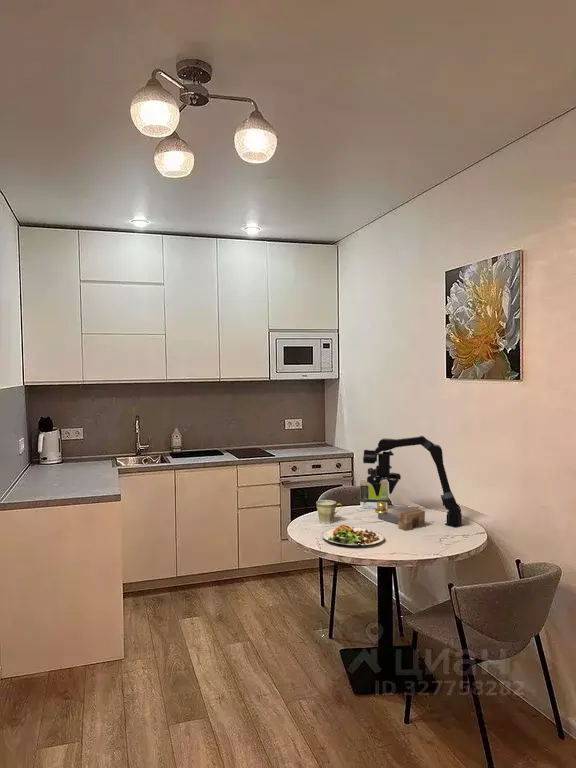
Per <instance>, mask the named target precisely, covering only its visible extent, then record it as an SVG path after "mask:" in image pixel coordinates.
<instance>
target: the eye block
mask: <svg viewBox="0 0 576 768" xmlns="http://www.w3.org/2000/svg"><path fill="white" fill-rule="evenodd" d="M398 516H399V523H398V524H397V525H398V529H399V530H402V531H412V530H413V527H414V528H419V529H420V528H425V527H424V526H426V524H425V523H426V522H425V521H426V518H425V517H426V511H425V510H421V509H418V508H416V509H411V510H406V511H400V512H398Z"/></svg>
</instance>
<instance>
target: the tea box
mask: <svg viewBox="0 0 576 768" xmlns="http://www.w3.org/2000/svg"><path fill="white" fill-rule="evenodd" d="M380 483H381V487H380V492H379V496H376V493H375V490H374V488H373V486H372V484H370V483H369V482H367V478H361V479H360V481H359V484H360V485H359V492H360V493H359V503H360V507H359V508H360V509H377V502H380V501H382V502H386V510H388V509H389V506H388V504H389V500H388V498H389V496H388V494H389V493H388V492H389V483H388V481H387V479H386V480H381V482H380Z"/></svg>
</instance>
